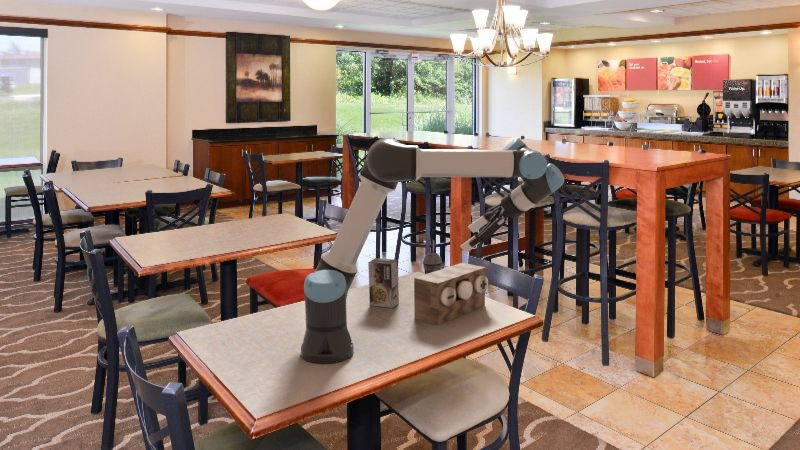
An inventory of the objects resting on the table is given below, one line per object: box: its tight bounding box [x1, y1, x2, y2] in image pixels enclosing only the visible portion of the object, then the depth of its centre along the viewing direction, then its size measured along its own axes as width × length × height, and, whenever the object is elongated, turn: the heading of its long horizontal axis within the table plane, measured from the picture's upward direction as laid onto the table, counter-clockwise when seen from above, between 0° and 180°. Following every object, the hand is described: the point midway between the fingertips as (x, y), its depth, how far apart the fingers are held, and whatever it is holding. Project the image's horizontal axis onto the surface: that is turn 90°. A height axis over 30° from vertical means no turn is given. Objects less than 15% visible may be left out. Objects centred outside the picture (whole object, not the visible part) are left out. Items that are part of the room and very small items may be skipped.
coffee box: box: [367, 257, 400, 309], centre depth 228 cm, size 9×6×16 cm
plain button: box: [457, 281, 473, 300], centre depth 215 cm, size 6×2×6 cm, turn 137°
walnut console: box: [413, 262, 489, 326], centre depth 219 cm, size 26×12×14 cm, turn 137°
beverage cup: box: [422, 239, 443, 275], centre depth 241 cm, size 7×7×20 cm
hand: (467, 239), depth 207 cm, fingers open, 13 cm apart
